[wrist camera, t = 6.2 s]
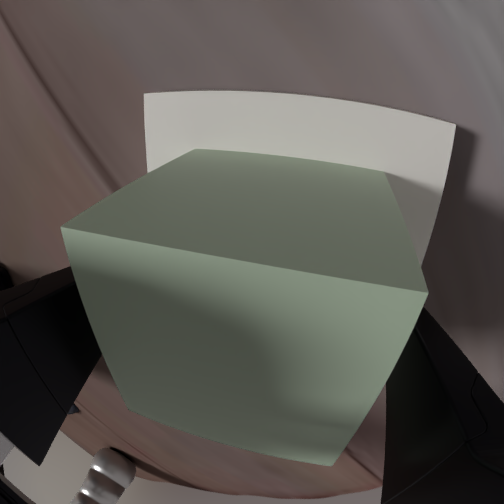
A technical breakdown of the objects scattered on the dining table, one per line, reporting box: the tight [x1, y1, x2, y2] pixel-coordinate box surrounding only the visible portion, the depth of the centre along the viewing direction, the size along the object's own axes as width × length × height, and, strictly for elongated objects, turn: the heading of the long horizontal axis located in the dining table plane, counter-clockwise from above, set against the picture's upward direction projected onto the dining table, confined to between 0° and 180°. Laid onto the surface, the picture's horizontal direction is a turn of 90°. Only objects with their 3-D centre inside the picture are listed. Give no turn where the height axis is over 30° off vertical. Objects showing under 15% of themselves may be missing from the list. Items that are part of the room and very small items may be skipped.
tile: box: [144, 90, 456, 266], centre depth 11 cm, size 10×10×1 cm
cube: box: [61, 149, 429, 466], centre depth 8 cm, size 6×6×6 cm
